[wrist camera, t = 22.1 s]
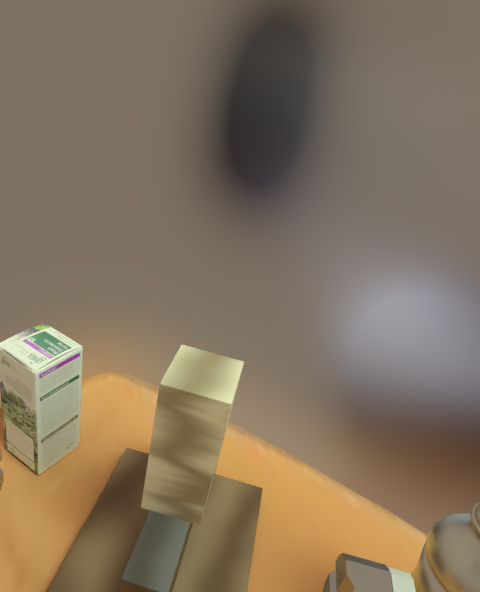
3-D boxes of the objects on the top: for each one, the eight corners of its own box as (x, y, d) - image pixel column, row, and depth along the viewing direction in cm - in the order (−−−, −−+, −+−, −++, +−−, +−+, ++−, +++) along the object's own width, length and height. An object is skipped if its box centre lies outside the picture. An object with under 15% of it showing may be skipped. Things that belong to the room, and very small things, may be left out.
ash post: (214, 475, 39) (243, 361, 33) (199, 525, 34) (231, 404, 28) (161, 460, 39) (181, 344, 33) (140, 507, 34) (160, 383, 29)
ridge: (259, 497, 48) (278, 440, 44) (227, 698, 32) (253, 639, 28) (125, 456, 49) (132, 397, 45) (30, 632, 33) (28, 566, 29)
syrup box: (81, 445, 49) (86, 343, 43) (36, 479, 44) (34, 370, 38) (48, 420, 51) (47, 319, 45) (1, 450, 47) (-7, 342, 40)
